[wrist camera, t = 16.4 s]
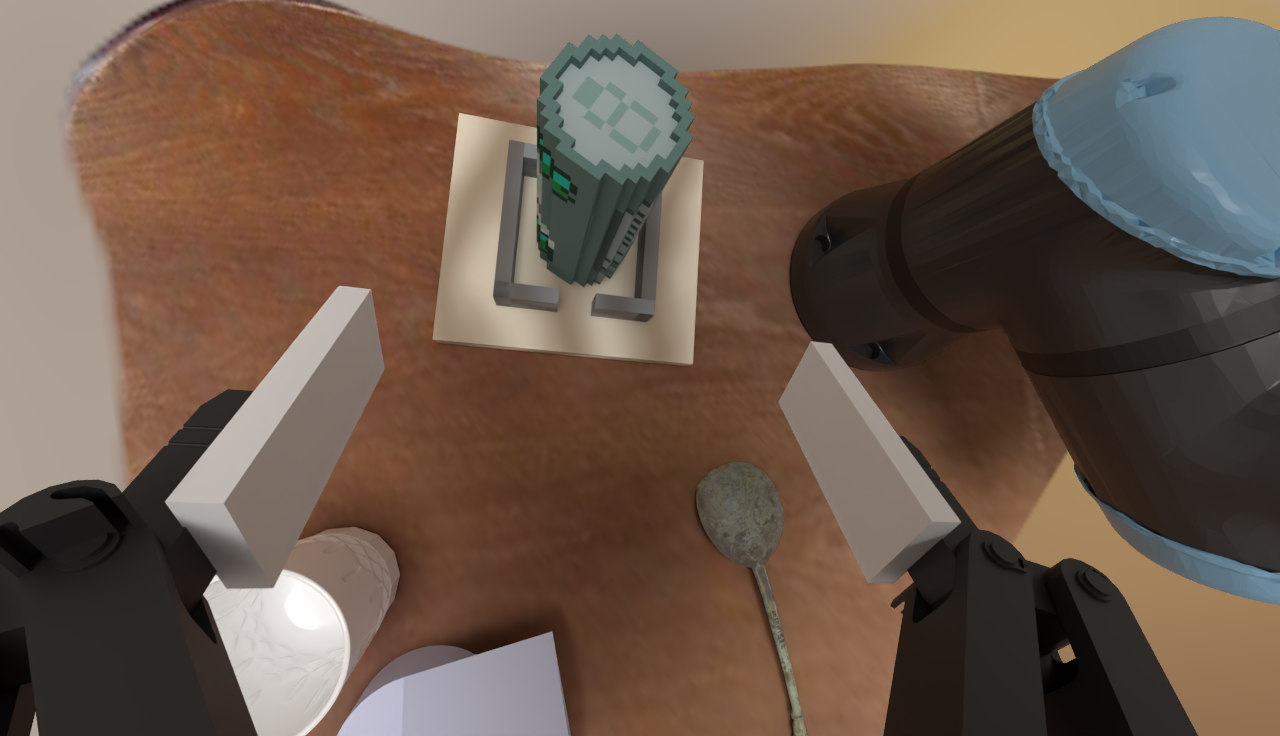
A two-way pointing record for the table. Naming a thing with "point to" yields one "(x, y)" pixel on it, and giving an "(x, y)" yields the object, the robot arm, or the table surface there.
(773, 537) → the soupspoon
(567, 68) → the can
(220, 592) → the white cup
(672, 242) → the board with grey rim
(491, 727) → the wedge on round base
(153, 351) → the table surface
